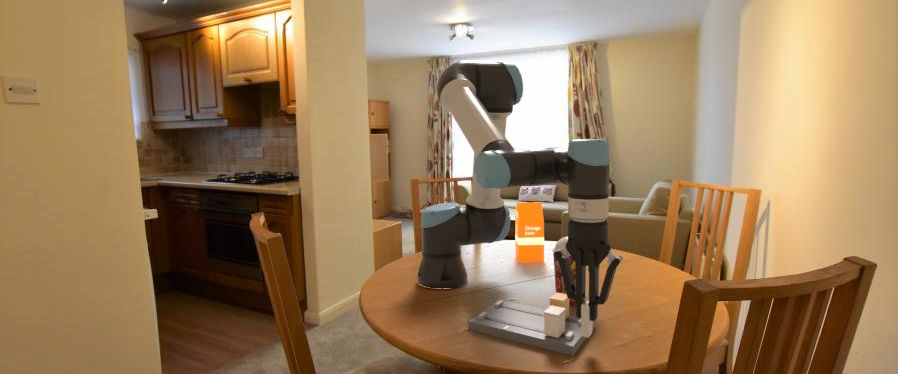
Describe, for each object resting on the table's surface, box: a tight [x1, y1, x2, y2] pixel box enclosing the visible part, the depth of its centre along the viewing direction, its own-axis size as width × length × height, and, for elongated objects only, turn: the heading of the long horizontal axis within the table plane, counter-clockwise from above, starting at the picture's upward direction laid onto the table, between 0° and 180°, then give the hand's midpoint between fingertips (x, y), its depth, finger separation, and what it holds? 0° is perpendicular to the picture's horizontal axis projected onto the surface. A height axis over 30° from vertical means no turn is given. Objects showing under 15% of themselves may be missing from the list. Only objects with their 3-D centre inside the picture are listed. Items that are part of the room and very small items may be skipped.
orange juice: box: [514, 201, 545, 263], centre depth 155 cm, size 8×9×20 cm
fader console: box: [468, 299, 596, 357], centre depth 100 cm, size 24×15×3 cm, turn 56°
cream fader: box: [544, 305, 566, 338], centre depth 93 cm, size 3×4×5 cm
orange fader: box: [549, 291, 570, 319], centre depth 100 cm, size 3×4×5 cm
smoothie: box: [552, 235, 576, 306], centre depth 115 cm, size 8×8×20 cm
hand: (586, 334), depth 89 cm, fingers closed
